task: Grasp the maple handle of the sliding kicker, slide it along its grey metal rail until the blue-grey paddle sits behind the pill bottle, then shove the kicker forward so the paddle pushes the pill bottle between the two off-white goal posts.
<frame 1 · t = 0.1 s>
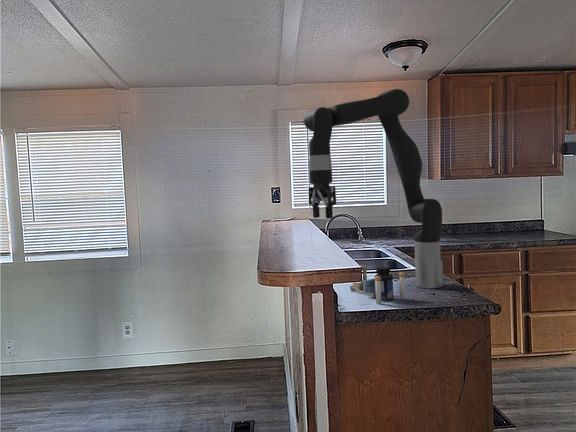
hand: (322, 217, 151), 29 cm above the worktop, fingers open, 8 cm apart
rail: (366, 293, 164), on the worktop
kicker: (365, 278, 164), point 5 cm above the worktop, slide at 0.0 cm
goal: (390, 301, 151), on the worktop
pill bottle: (384, 299, 155), on the worktop
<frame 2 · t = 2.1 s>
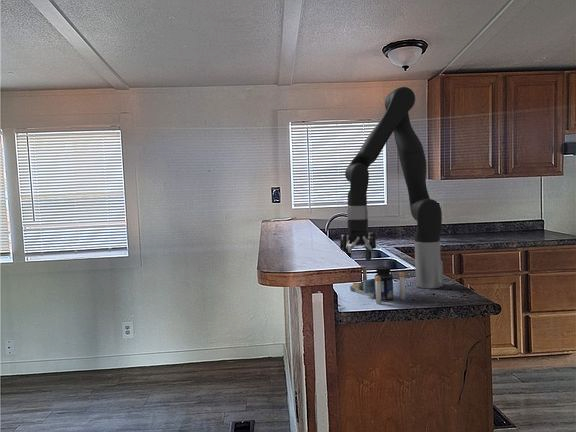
hand: (358, 261, 167), 11 cm above the worktop, fingers open, 8 cm apart
nothing on the worktop moved.
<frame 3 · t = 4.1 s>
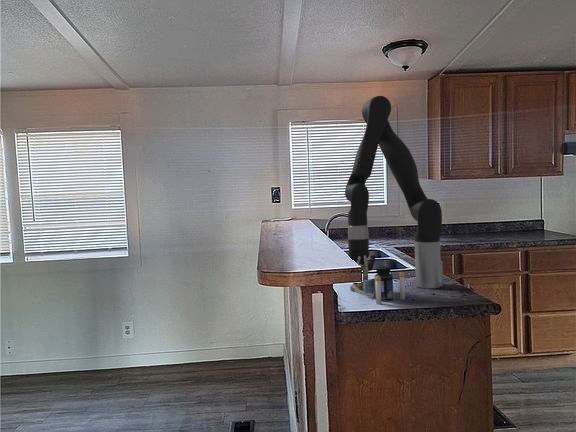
hand: (360, 283, 167), 3 cm above the worktop, fingers closed on kicker, 3 cm apart
kicker: (365, 278, 164), point 5 cm above the worktop, slide at 0.0 cm, touching gripper
everything else where it was.
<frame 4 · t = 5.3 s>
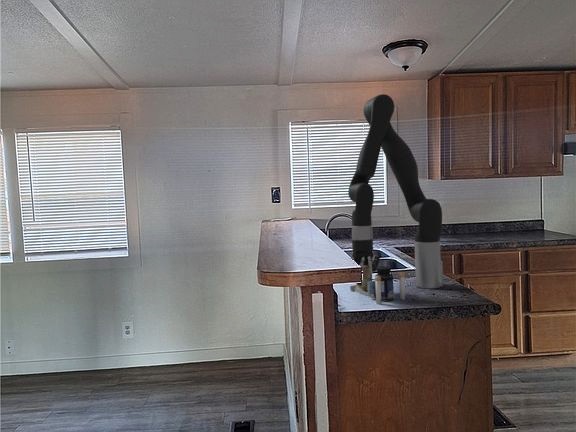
hand: (364, 284, 165), 3 cm above the worktop, fingers closed on kicker, 3 cm apart
kicker: (369, 279, 162), point 6 cm above the worktop, slide at 2.6 cm, touching gripper, pill bottle
pill bottle: (384, 300, 154), on the worktop, touching kicker
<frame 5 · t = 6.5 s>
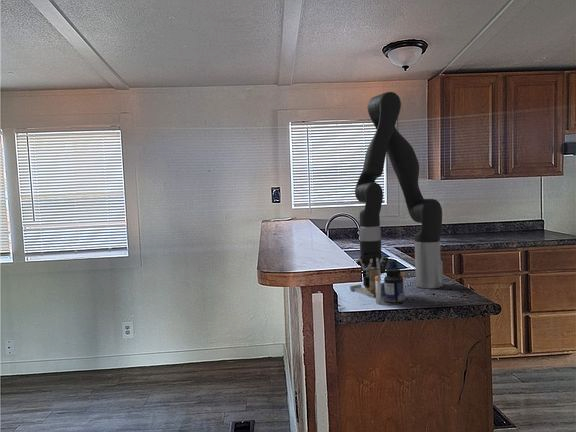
hand: (372, 286, 161), 3 cm above the worktop, fingers closed on kicker, 3 cm apart
kicker: (377, 281, 157), point 6 cm above the worktop, slide at 7.5 cm, touching gripper, pill bottle
pill bottle: (394, 302, 150), on the worktop, touching kicker
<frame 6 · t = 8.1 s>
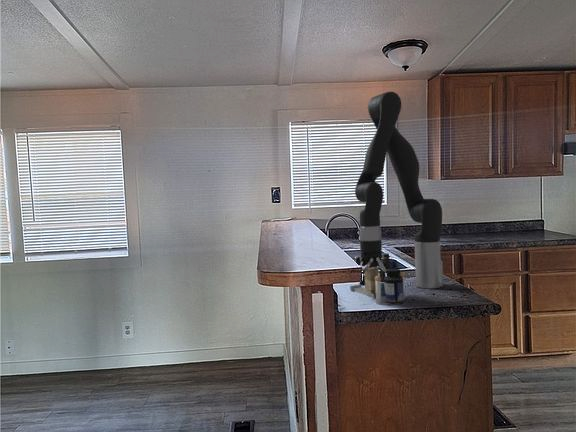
hand: (372, 283, 160), 4 cm above the worktop, fingers open, 8 cm apart
kicker: (377, 281, 157), point 6 cm above the worktop, slide at 7.5 cm
pill bottle: (394, 302, 150), on the worktop
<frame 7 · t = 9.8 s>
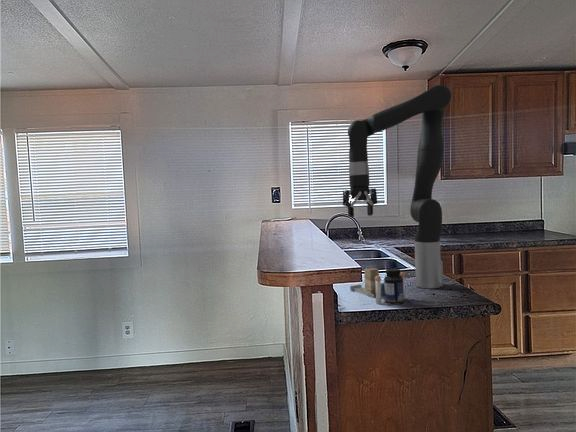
hand: (360, 216, 173), 28 cm above the worktop, fingers open, 8 cm apart
nothing on the worktop moved.
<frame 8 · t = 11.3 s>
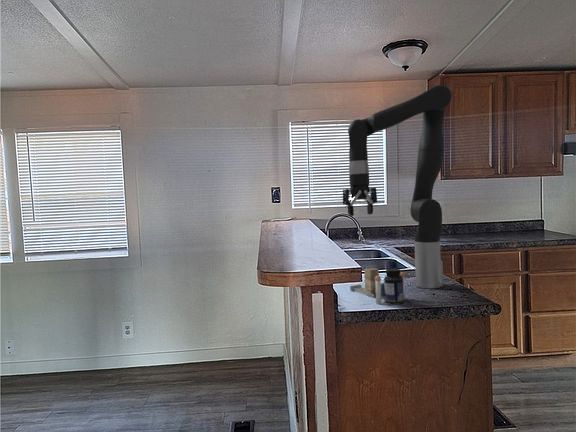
hand: (360, 215, 174), 28 cm above the worktop, fingers open, 8 cm apart
nothing on the worktop moved.
at the end: pill bottle inside the target area (2.6 cm from its centre), on the worktop; pill bottle moved 5.2 cm from its start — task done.
